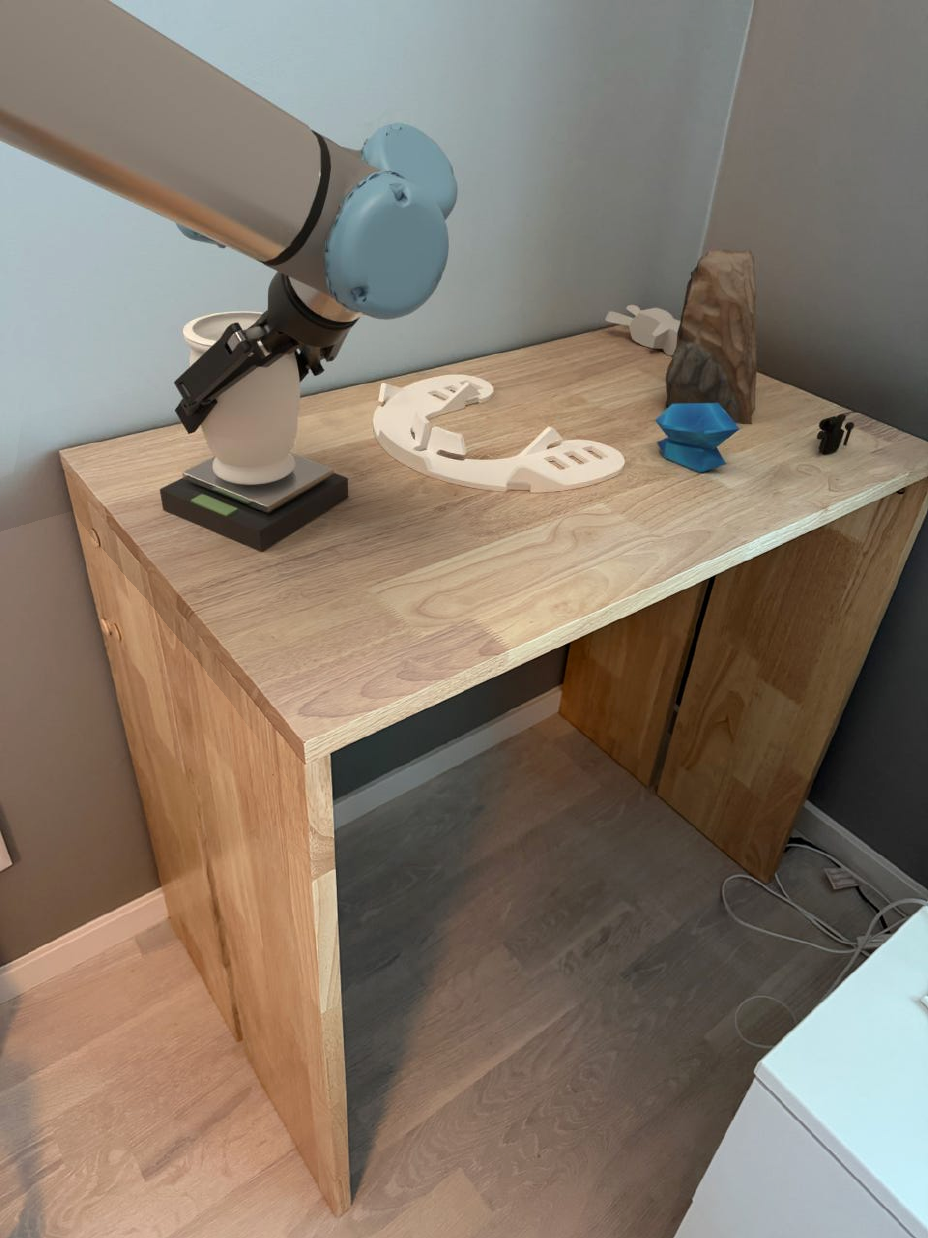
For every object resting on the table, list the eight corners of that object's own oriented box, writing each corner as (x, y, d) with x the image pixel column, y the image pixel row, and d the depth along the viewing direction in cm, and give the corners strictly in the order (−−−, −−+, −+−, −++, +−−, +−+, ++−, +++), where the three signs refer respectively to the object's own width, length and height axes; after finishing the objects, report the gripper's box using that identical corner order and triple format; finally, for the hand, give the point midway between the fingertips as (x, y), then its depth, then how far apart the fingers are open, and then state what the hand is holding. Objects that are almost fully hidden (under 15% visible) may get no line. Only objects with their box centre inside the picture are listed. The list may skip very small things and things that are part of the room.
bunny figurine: (679, 338, 134) (604, 301, 141) (670, 369, 137) (596, 332, 145) (713, 326, 140) (638, 291, 147) (703, 356, 143) (631, 320, 150)
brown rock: (660, 419, 119) (690, 266, 107) (649, 383, 129) (675, 240, 118) (753, 425, 119) (794, 272, 107) (734, 389, 129) (769, 246, 117)
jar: (207, 496, 88) (186, 349, 79) (198, 451, 96) (178, 312, 87) (313, 485, 91) (304, 341, 82) (296, 442, 98) (286, 306, 89)
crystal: (668, 387, 110) (759, 395, 103) (669, 454, 114) (756, 466, 107) (636, 403, 106) (729, 412, 98) (638, 472, 110) (727, 486, 102)
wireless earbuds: (814, 460, 112) (826, 423, 109) (799, 452, 113) (810, 415, 110) (849, 448, 115) (861, 412, 112) (833, 441, 116) (845, 405, 113)
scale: (163, 509, 94) (159, 487, 92) (254, 462, 103) (252, 441, 102) (261, 552, 88) (259, 529, 86) (348, 497, 98) (348, 476, 96)
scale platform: (182, 478, 93) (181, 472, 93) (251, 444, 100) (250, 438, 100) (268, 513, 88) (267, 506, 88) (333, 474, 96) (333, 468, 95)
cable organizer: (640, 467, 107) (645, 442, 105) (488, 522, 95) (491, 494, 93) (464, 374, 129) (465, 351, 127) (322, 409, 116) (320, 384, 114)
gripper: (236, 358, 67) (152, 473, 84) (440, 298, 81) (333, 406, 98) (185, 270, 66) (111, 404, 84) (400, 225, 81) (298, 347, 98)
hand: (231, 405), depth 91 cm, fingers closed on jar, 10 cm apart
